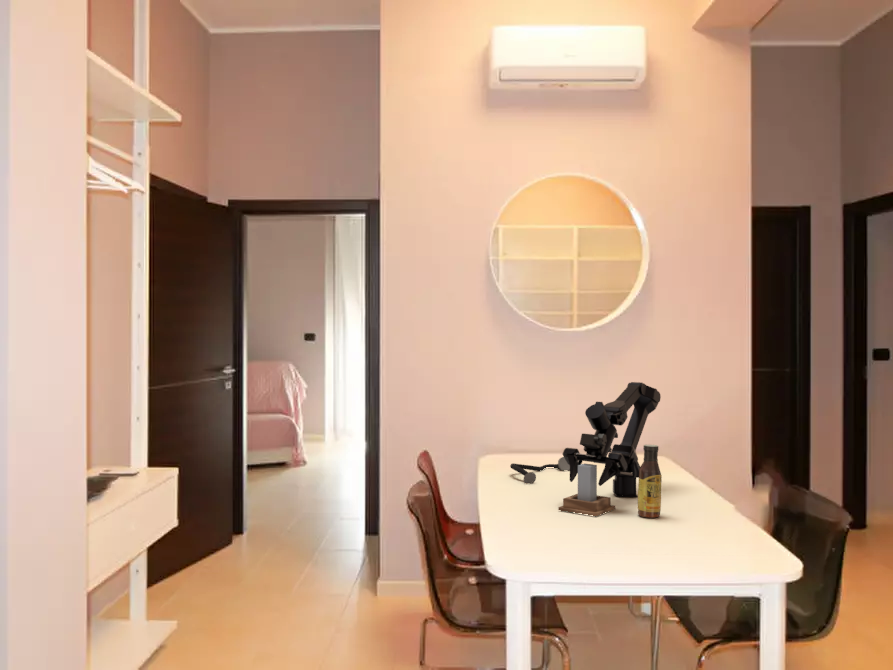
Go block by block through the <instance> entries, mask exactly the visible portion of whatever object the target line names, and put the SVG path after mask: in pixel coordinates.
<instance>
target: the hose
mask: <svg viewBox="0 0 893 670" xmlns="http://www.w3.org/2000/svg"><path fill="white" fill-rule="evenodd" d="M509 467H510V469H512V470H514V471H515V472H517V473H519V474H520V475H523V483H524V484H525V483H530V484H534V483H535V481H536V480H537V475H536V473H534V472H533V471H535V472H541V471H540V470H543V469H544V468H546V467H554V468H558V469H560V470H559V471H561V470H568V471H570V465H569V464H568V463H567V461H566V460H565V458H564V456H562V457H560V458H559V459H558V460H557V463H556V464H554V463H552V464H551V463H549V464H543V465H542V466H538V465H528V464H521V463H520V464H519V463H511V464H510V466H509ZM558 469H557V470H558ZM544 470H545V469H544ZM544 470H543V471H544ZM529 471H532V472H529Z"/></svg>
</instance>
